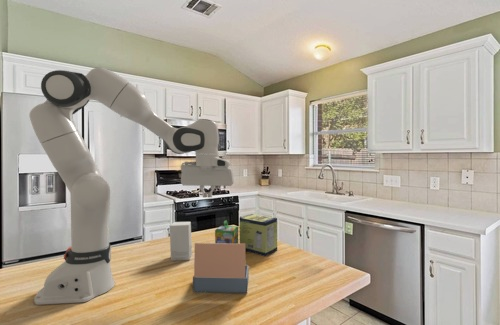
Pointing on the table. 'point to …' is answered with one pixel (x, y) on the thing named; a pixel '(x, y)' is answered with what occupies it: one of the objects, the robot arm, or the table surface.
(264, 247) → the protein box
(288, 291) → the table surface
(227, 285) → the mailer
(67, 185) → the robot arm
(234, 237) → the chalk box
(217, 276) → the lid
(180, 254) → the skincare box
